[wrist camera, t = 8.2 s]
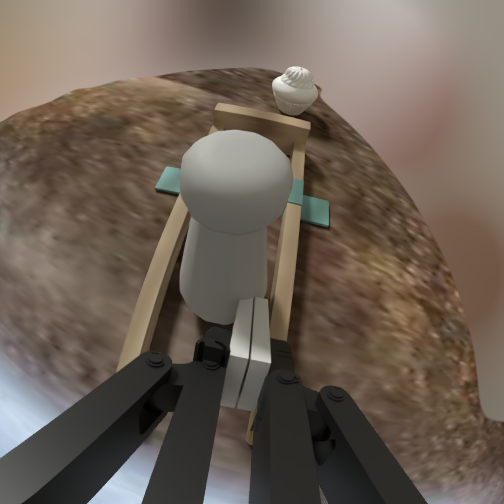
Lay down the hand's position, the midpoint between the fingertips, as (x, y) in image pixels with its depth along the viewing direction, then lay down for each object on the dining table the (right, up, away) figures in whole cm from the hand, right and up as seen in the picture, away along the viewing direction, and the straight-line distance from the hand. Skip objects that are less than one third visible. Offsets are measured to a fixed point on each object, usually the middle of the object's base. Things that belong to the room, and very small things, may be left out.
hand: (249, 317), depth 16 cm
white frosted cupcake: (+5, +23, +19) cm, 31 cm away
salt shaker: (-2, +1, +4) cm, 5 cm away
